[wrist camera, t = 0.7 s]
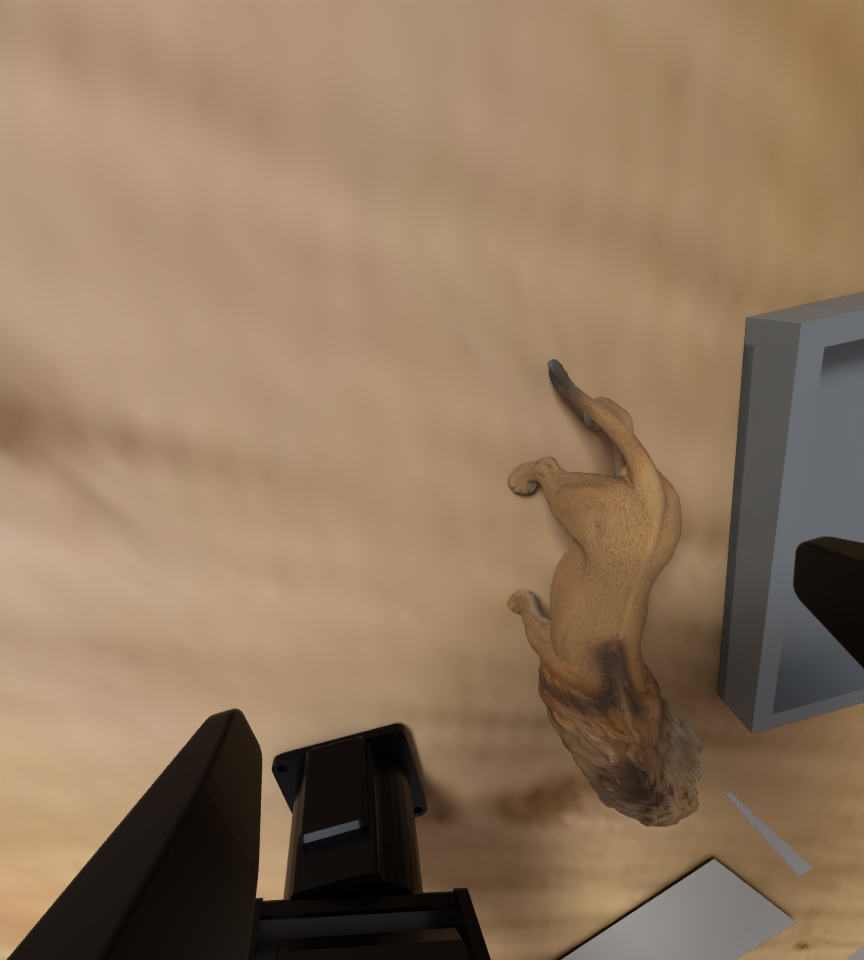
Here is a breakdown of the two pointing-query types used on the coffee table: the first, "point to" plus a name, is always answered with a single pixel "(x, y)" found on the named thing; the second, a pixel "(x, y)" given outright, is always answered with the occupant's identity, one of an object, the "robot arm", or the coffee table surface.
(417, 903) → the robot arm
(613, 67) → the coffee table surface
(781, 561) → the tray
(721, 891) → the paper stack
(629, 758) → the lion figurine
